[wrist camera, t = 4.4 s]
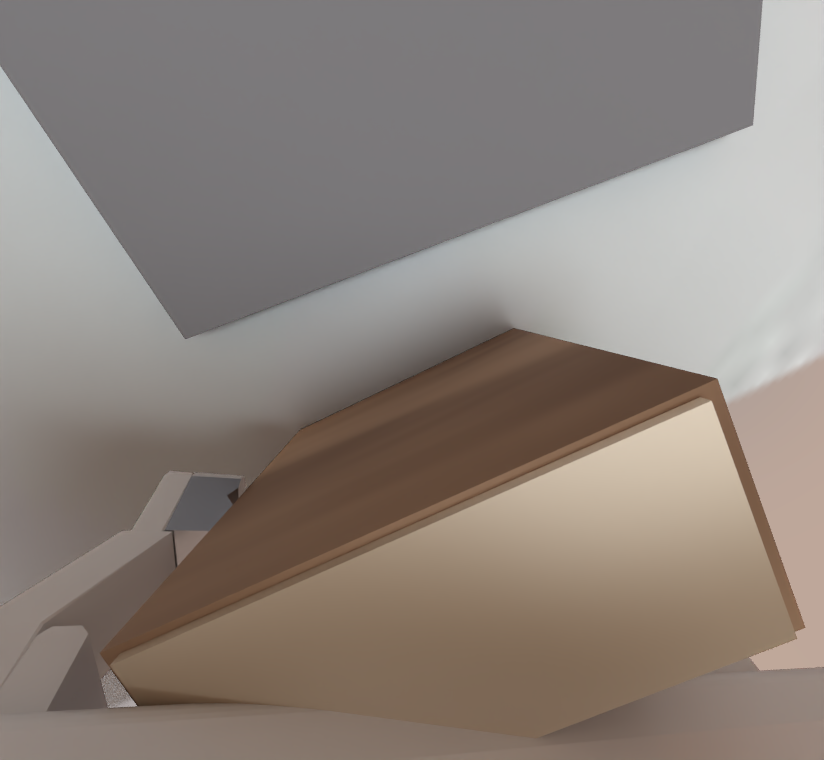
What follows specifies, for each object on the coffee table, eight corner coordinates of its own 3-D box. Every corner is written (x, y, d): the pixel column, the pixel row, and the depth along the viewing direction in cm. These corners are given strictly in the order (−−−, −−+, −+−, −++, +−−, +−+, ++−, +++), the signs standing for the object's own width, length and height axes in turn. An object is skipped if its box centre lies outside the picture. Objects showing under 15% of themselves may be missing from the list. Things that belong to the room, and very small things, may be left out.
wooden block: (553, 419, 12) (819, 639, 4) (345, 512, 13) (232, 861, 5) (513, 328, 12) (729, 381, 4) (300, 429, 12) (88, 664, 4)
